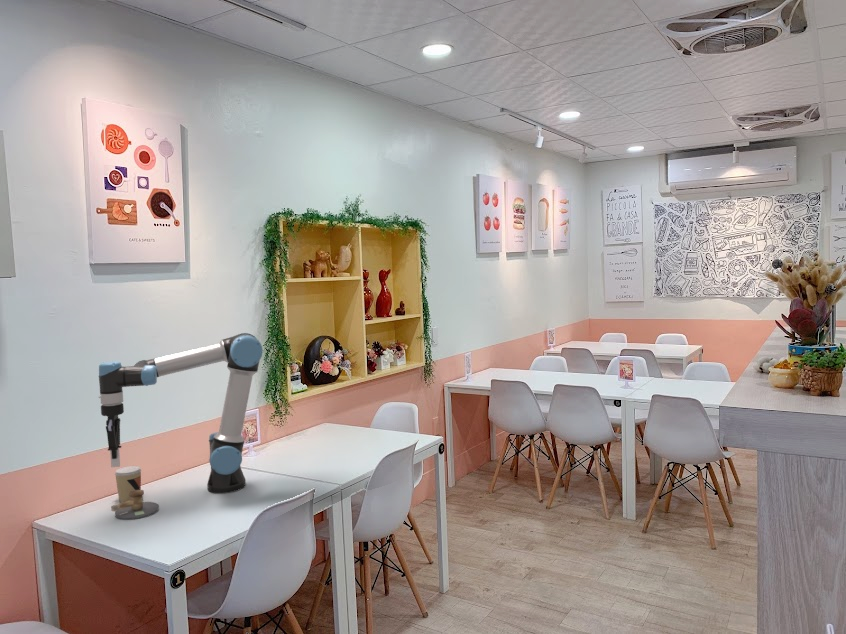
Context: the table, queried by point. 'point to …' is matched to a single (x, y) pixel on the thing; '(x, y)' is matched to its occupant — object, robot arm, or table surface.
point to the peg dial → (131, 501)
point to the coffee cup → (128, 481)
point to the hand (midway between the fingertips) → (115, 466)
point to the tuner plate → (137, 511)
